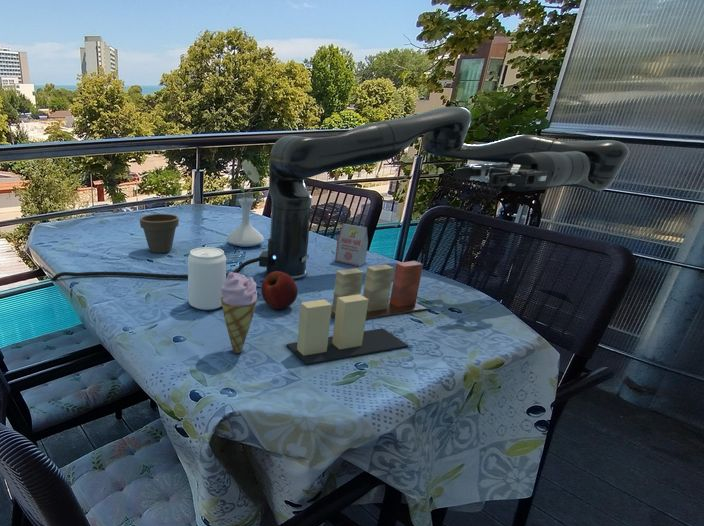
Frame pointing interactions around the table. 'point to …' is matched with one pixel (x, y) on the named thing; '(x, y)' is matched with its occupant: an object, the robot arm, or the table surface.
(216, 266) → the beverage can
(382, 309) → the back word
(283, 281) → the apple
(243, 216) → the flower in vase
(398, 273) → the orange rectangular block
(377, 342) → the front word
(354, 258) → the white tea box
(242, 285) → the ice cream cone
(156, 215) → the flower pot
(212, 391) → the table surface
